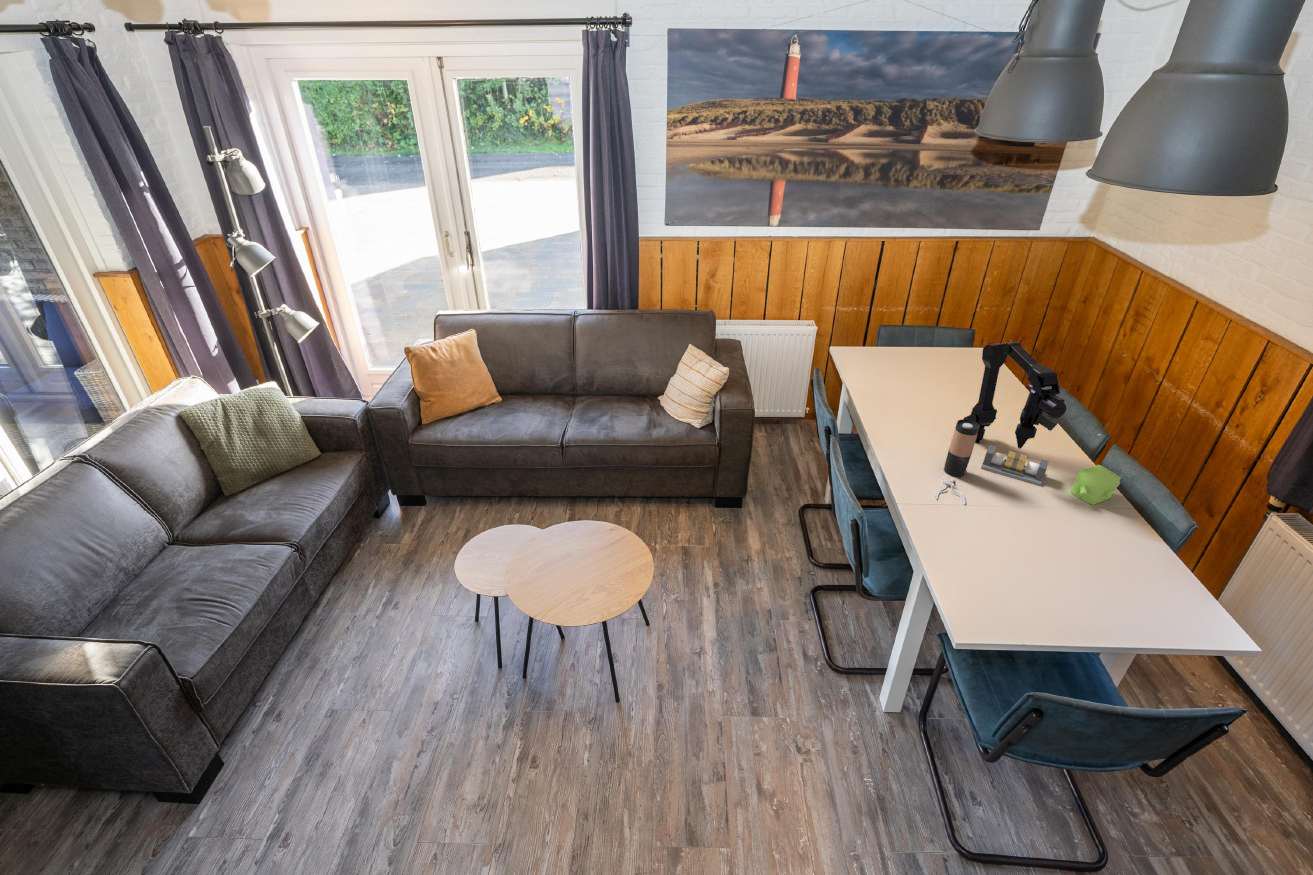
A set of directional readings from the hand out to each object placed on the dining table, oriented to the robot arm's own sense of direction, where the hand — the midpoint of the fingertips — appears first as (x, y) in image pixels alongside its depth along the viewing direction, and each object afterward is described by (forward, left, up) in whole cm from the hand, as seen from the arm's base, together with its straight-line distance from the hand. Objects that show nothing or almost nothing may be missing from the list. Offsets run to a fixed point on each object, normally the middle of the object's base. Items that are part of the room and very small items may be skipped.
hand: (1021, 442), depth 240 cm
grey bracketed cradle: (0, -1, -12) cm, 12 cm away
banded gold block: (0, 0, -11) cm, 11 cm away
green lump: (+26, -3, -12) cm, 29 cm away
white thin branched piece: (-17, -27, -12) cm, 34 cm away
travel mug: (-18, -14, -12) cm, 25 cm away
